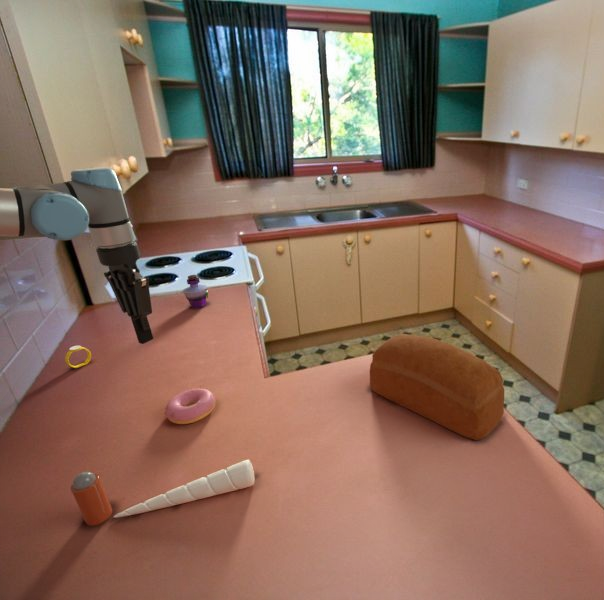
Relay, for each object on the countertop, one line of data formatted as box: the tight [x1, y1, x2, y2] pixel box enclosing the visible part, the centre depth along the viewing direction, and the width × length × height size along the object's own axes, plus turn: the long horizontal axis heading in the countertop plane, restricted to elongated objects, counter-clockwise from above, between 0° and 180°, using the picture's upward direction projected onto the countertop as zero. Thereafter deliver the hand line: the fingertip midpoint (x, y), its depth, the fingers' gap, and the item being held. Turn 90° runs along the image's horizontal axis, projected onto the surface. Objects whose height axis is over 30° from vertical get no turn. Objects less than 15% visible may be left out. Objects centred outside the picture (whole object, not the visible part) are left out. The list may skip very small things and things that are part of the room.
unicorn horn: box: [113, 459, 256, 519], centre depth 78 cm, size 5×24×5 cm, turn 106°
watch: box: [64, 344, 92, 369], centre depth 121 cm, size 6×3×6 cm, turn 151°
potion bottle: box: [182, 274, 209, 309], centre depth 158 cm, size 9×9×12 cm
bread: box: [369, 333, 505, 441], centre depth 100 cm, size 14×33×16 cm, turn 50°
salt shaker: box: [70, 471, 113, 527], centre depth 73 cm, size 4×4×10 cm
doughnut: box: [164, 387, 216, 425], centre depth 101 cm, size 11×11×4 cm
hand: (146, 340), depth 100 cm, fingers closed
